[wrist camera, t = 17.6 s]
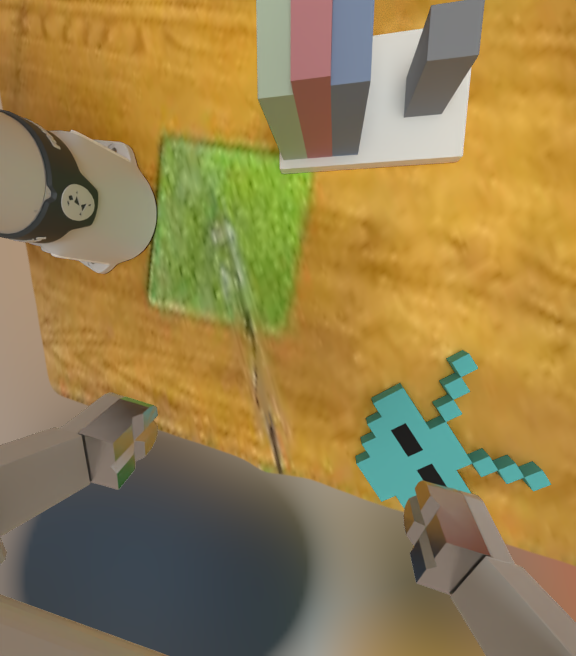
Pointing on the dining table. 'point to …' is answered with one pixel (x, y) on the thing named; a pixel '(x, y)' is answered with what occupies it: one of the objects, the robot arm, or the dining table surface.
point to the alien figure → (428, 444)
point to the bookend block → (443, 56)
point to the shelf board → (390, 117)
